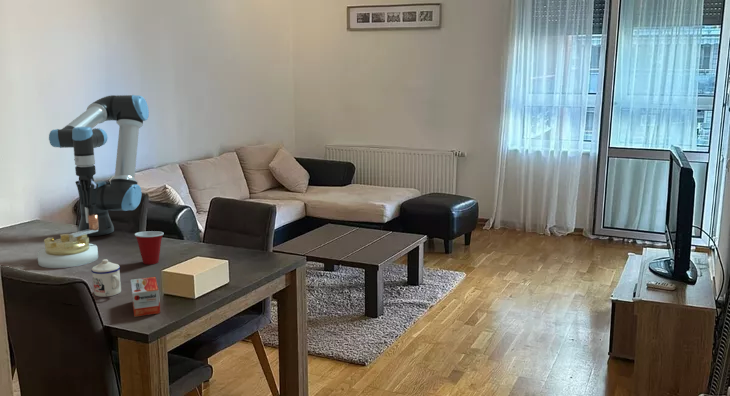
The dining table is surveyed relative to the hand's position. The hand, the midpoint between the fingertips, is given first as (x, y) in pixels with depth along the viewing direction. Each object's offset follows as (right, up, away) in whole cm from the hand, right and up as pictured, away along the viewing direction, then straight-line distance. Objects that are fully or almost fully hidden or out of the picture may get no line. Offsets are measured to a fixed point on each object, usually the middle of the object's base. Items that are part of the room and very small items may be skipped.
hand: (90, 222), depth 288 cm
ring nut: (-3, -10, -8) cm, 13 cm away
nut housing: (-5, -15, -10) cm, 18 cm away
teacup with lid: (+27, -23, -50) cm, 61 cm away
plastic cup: (+29, -15, -14) cm, 36 cm away
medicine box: (+43, -25, -64) cm, 81 cm away
